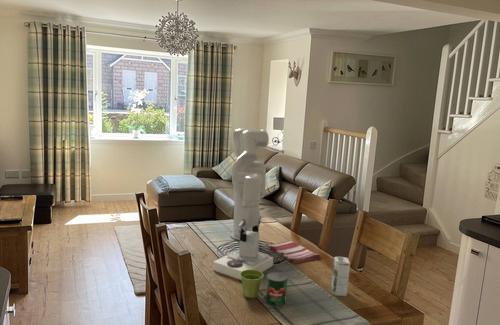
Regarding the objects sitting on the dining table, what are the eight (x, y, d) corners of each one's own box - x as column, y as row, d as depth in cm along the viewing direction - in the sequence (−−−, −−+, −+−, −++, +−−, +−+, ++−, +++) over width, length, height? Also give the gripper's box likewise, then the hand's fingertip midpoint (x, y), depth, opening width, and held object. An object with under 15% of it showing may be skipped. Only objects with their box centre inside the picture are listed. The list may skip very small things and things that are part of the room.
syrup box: (330, 288, 174) (333, 256, 171) (344, 289, 174) (347, 257, 171) (332, 295, 168) (335, 261, 166) (347, 296, 168) (350, 262, 166)
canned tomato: (270, 309, 155) (272, 281, 153) (261, 299, 162) (263, 273, 160) (289, 306, 158) (291, 278, 156) (279, 296, 165) (281, 270, 164)
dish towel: (294, 265, 197) (294, 259, 197) (266, 248, 217) (266, 243, 216) (320, 259, 206) (321, 253, 206) (291, 243, 226) (291, 238, 225)
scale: (241, 255, 204) (242, 246, 204) (272, 265, 194) (273, 256, 194) (213, 270, 186) (213, 260, 186) (245, 281, 177) (246, 271, 176)
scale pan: (243, 248, 202) (243, 246, 202) (269, 256, 194) (269, 254, 194) (226, 256, 191) (227, 254, 191) (253, 265, 183) (254, 263, 183)
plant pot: (245, 302, 159) (246, 281, 158) (234, 291, 168) (235, 271, 166) (266, 298, 164) (267, 277, 162) (255, 287, 172) (256, 267, 170)
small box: (258, 253, 194) (259, 232, 192) (255, 258, 189) (256, 236, 187) (242, 251, 196) (243, 230, 195) (238, 255, 191) (239, 233, 189)
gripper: (254, 197, 197) (253, 231, 201) (232, 205, 183) (231, 241, 187) (268, 200, 193) (266, 235, 197) (246, 208, 179) (244, 245, 183)
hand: (249, 238), depth 192 cm, fingers open, 9 cm apart
